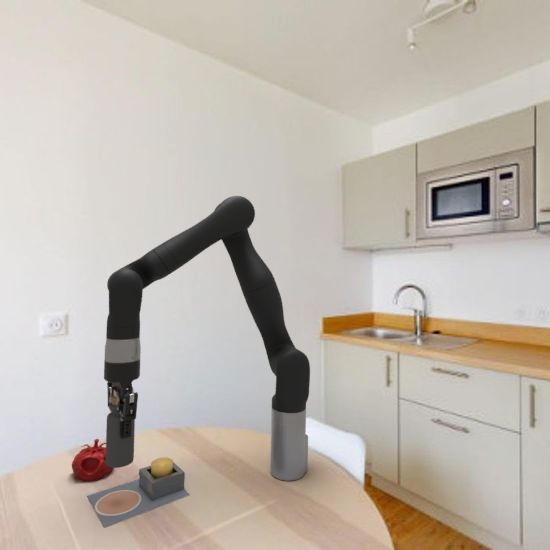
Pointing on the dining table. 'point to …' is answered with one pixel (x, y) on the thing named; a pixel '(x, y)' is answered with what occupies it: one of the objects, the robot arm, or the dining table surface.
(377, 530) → the dining table surface
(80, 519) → the dining table surface
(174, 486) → the button housing
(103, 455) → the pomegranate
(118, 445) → the bottle
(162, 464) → the button
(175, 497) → the board
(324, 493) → the dining table surface
